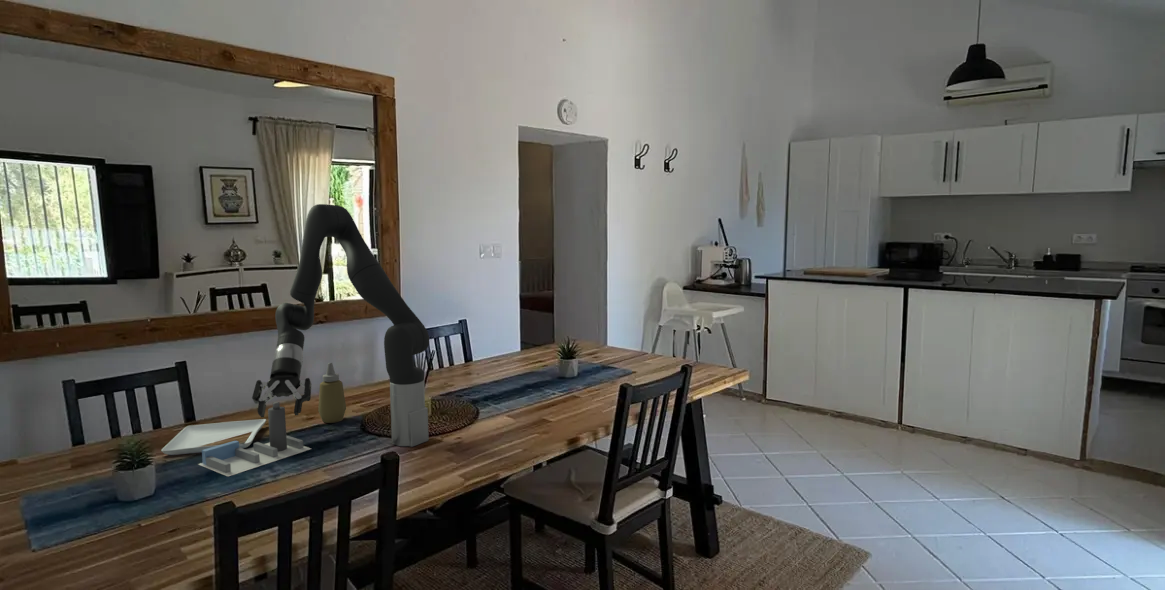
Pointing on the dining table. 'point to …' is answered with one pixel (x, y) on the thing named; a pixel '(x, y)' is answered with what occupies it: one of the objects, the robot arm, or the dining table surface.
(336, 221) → the robot arm
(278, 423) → the dark grey bottle
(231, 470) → the divider rack
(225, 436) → the salad plate
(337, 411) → the squeeze bottle
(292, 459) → the dining table surface
